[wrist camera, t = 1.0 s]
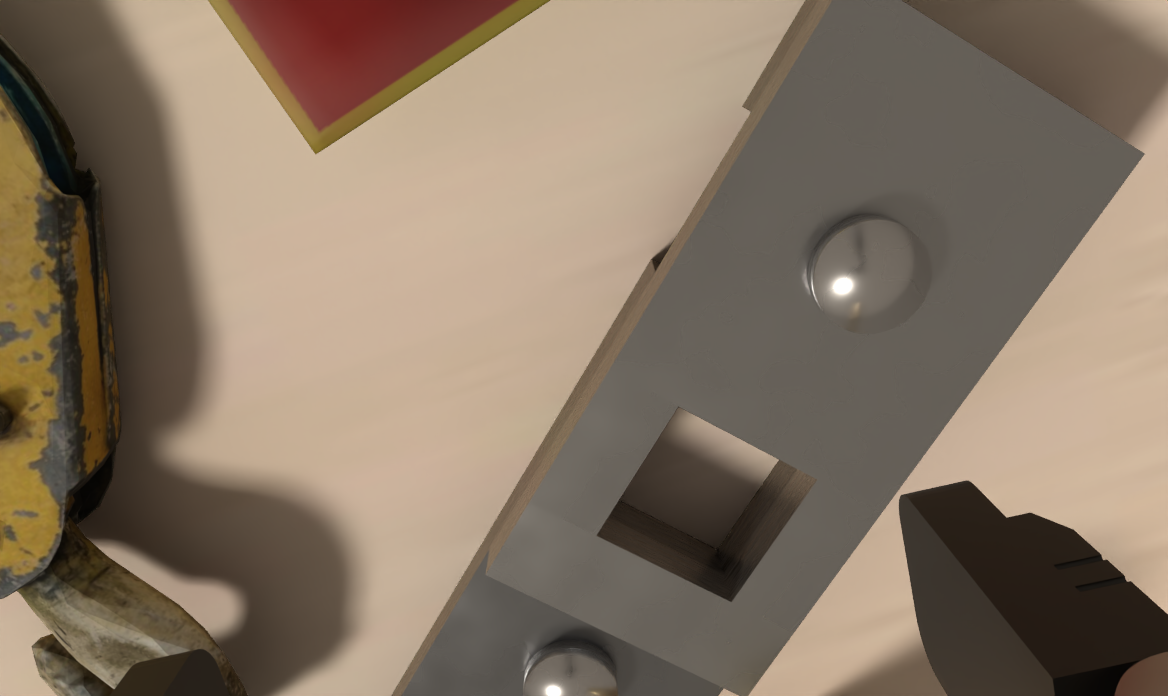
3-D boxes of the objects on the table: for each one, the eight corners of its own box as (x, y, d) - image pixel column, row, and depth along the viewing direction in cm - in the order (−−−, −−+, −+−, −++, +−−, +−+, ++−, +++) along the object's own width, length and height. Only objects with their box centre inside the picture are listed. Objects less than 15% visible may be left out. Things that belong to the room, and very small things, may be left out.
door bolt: (821, -27, 27) (860, -33, 23) (1087, 138, 28) (1162, 158, 25) (373, 726, 34) (349, 810, 31) (599, 825, 36) (601, 916, 32)
